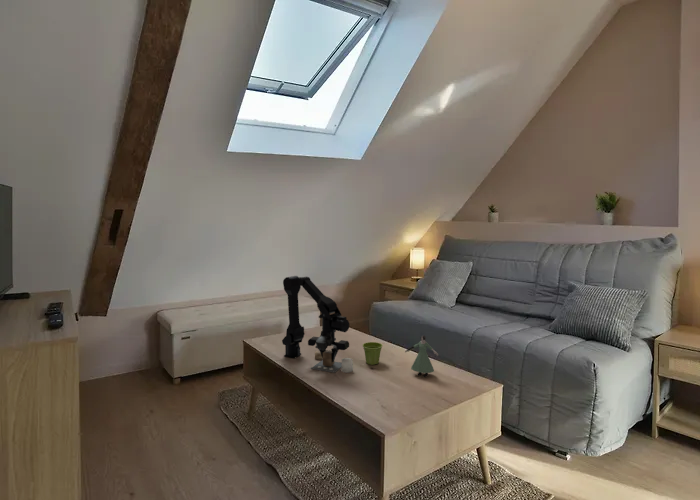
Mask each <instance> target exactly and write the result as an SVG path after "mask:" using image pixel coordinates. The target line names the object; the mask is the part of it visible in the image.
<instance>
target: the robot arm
mask: <svg viewBox="0 0 700 500" xmlns="http://www.w3.org/2000/svg"><path fill="white" fill-rule="evenodd" d="M282 284H283V290H284V292H285V293H286V295H287V305H288V307H287V309H288V326H287V328H286V334H285V335H286V336H284V337H283V338H282V340H281V343H282V345H284V346H285V350H284V352H285V353H284V354H283V357H285V358H290V359H292V358H293V359H295V358H298V357H299V356H301V355H302V353H301V346H300V343H302V342H303V340H304V337H305V334H306V333H305V327H304V326H302V324H301V323H300V311H299V310H300V307H299V293H300V291H301V287H302V288H303V289H304V290H305V292H306V293H307V294H308V295H309V296H310V297H311V298H312V299H313V301H314V302H315V303H316V307H317V309H318V310H319V312H320V315H318V318H319V319H321V320H322V321H321V324H322V328H321V330H320V336H313V337H310V338H308V341H307V345H308V346H309V347H310V346H312V347H314V346H315V348H316V349H317V350H318V351H320V353H321V355H322V358H323V352H324V351H326V350H327V349H328V347H331V346H332V348H331V349H330V351H332V362H335V359H336V357H337V354H338V352H339V351H345V350H348V348H350V342H349V341H348V340H343V339H342V340H339V341H336V340H337V339H336V336H335V333H337V332H340V333H347V332H348V331H349V329H350V322H349V320H348V319H347V316H342V313H341V311H340V309H339V307H338V305H337V304H338V303H336V301H335V300H333V299H332V298H331V297H328V296H326V295H325V294H324V293H323V292H322V291H321V290H320V289H319V288H318V287H317V286H316V284H315V283H314V282H313V281H312V280H311V278H310V277H309V276H298V275H292V276H286V277H284V278H283V281H282Z"/></svg>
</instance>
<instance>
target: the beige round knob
mask: <svg viewBox="0 0 700 500" xmlns="http://www.w3.org/2000/svg"><path fill="white" fill-rule="evenodd" d="M314 360H316V361H317V360H318V361H322V360H323V358H322V355H321V353H320V351H319V350H317V351H316V350H315V352H314Z"/></svg>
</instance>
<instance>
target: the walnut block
mask: <svg viewBox="0 0 700 500" xmlns="http://www.w3.org/2000/svg"><path fill="white" fill-rule="evenodd" d="M322 360H323V365H324V366H332V365H333V364H334V362H335V361H334V362H332V350H331V349H330V350H329V349H326V351H324V352H323V359H322Z"/></svg>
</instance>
